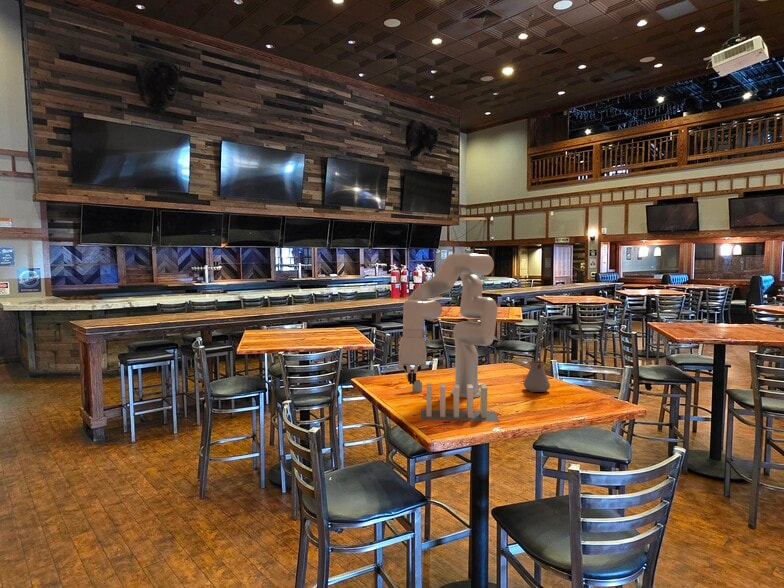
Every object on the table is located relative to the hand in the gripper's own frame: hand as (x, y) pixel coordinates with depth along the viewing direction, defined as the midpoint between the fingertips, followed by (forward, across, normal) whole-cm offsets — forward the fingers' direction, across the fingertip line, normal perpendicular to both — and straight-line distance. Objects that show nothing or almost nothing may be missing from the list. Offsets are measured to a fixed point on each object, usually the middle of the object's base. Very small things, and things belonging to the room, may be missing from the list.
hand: (411, 383), depth 175 cm
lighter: (+12, 0, -34) cm, 36 cm away
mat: (+12, -18, -1) cm, 21 cm away
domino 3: (+11, -16, -1) cm, 20 cm away
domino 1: (+12, -6, -1) cm, 13 cm away
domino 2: (+11, -12, -1) cm, 16 cm away
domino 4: (+11, -22, -1) cm, 24 cm away
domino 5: (+11, -26, -1) cm, 29 cm away
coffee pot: (+11, -54, -35) cm, 65 cm away
